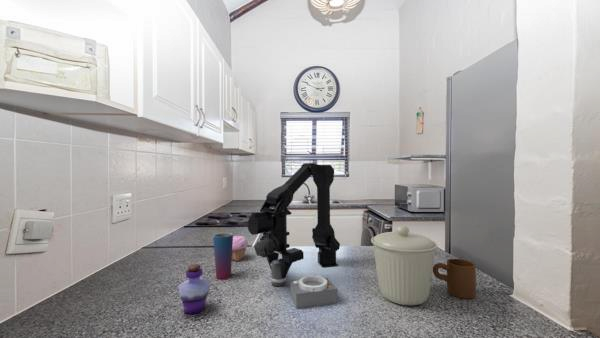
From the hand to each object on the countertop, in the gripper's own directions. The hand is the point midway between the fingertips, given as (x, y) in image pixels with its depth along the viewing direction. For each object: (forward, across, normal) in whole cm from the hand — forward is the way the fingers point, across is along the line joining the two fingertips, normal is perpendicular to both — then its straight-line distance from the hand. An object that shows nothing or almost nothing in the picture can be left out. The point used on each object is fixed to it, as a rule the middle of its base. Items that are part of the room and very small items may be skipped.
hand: (278, 276), depth 89 cm
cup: (+3, -18, -10) cm, 21 cm away
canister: (+3, +34, +20) cm, 39 cm away
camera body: (+2, +15, 0) cm, 16 cm away
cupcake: (+3, -32, +3) cm, 32 cm away
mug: (+3, +43, +33) cm, 54 cm away
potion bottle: (+3, -4, -27) cm, 27 cm away
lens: (+2, 0, 0) cm, 2 cm away
